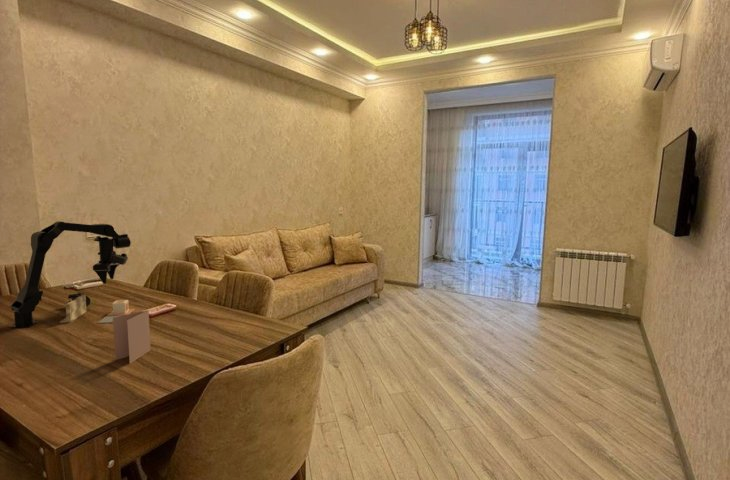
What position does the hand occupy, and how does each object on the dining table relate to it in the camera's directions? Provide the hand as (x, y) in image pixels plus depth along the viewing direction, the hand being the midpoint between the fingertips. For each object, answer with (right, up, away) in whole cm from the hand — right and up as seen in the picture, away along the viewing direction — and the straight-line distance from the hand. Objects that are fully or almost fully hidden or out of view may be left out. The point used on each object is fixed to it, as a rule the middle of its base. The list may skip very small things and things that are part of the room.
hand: (108, 281), depth 194 cm
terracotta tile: (+12, -14, -9) cm, 20 cm away
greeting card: (+46, -21, -56) cm, 76 cm away
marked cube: (+12, -14, -9) cm, 20 cm away
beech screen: (-6, -14, -16) cm, 22 cm away
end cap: (-13, -13, -2) cm, 18 cm away
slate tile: (+14, -15, -18) cm, 28 cm away
